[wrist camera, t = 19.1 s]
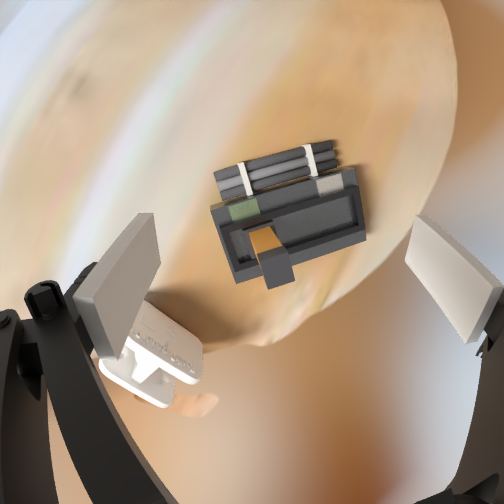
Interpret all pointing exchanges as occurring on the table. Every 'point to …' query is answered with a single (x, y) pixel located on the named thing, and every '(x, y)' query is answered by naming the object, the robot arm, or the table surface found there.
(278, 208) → the breaker panel
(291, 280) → the breaker toggle
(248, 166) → the cord bundle
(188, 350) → the cable organizer
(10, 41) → the table surface
